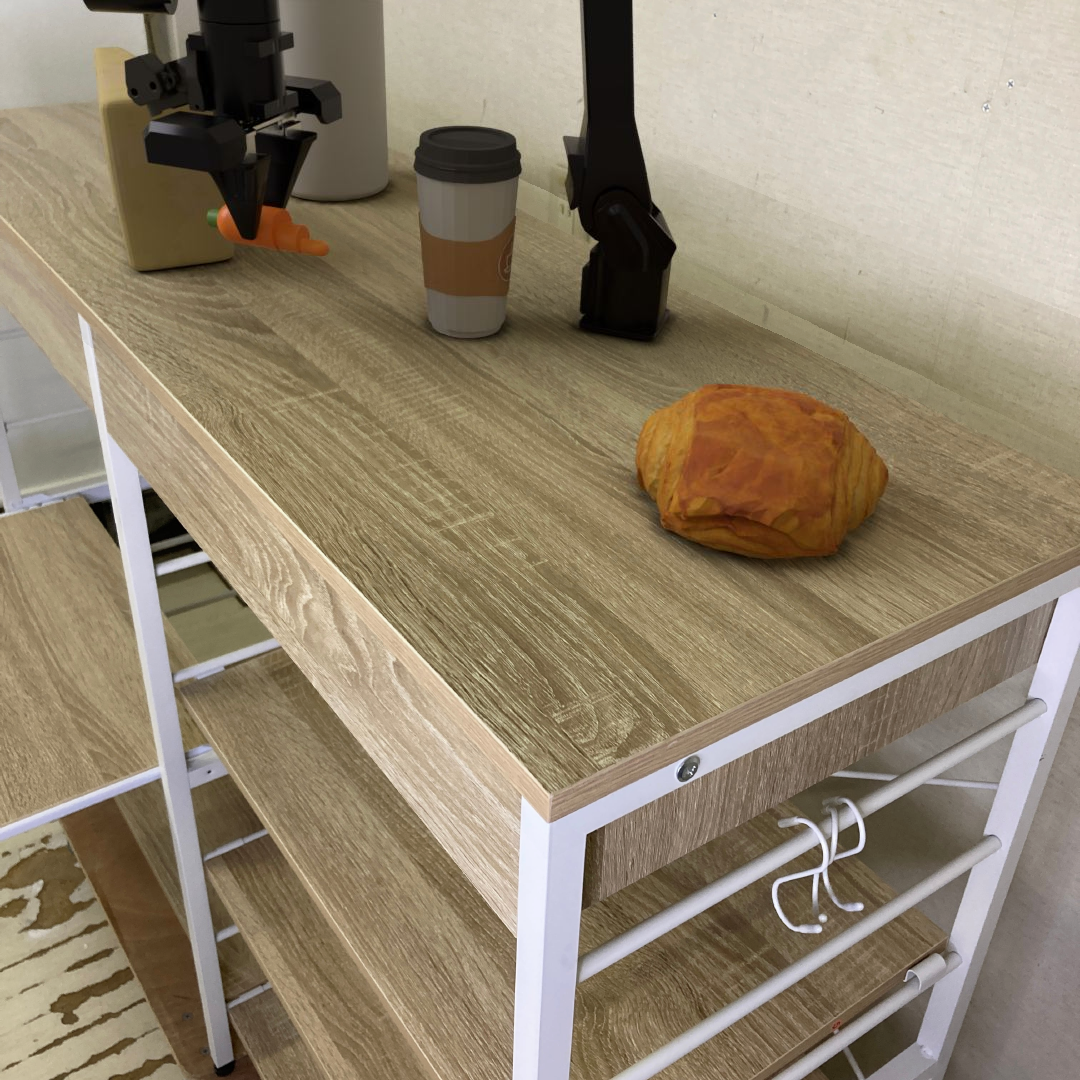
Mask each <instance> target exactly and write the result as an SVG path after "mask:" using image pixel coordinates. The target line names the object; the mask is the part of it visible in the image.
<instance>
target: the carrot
mask: <svg viewBox="0 0 1080 1080" xmlns="http://www.w3.org/2000/svg"><path fill="white" fill-rule="evenodd" d="M207 222H208V225H209V226H211V227H215V228H218V229H219V231H220V232H221V234H222V235H223V236H224V237H225V238H226V239H228V240H229V241H231V242H234V244H240V245H246V246H253V247H258V248H264V249H269V250H275V251H284V252H290V253H295V254H303V255H309V256H313V257H314V256H315V257H320V258H322V257H323V258H324V257H326V256H327V255H329V252H330V246H329V244H328V243H327V242H326V241H324V240H318V239H314V238H313V239H312V238H310V231H309V228H308V227H307V226H306V225H305V224H301V223H295V222H293V221H292V216H291V214H290V212H289V211H288V210H287V208H286V209H282V208H276V207H270V206H264V205H263V206H262V212H261V218H260V223H259V228H258V232H257V236H256V239H254V240H246V239H243V238H242V237H241V236H240V234H239V231H238V229H237V227H236V225H235V223H234V221H233V219H232V216H231V214H230V212H229V210H228V208H227V206H226V204H225V205H224V206H223V207H222V208H221V209H220V210H216V209H211V210H209V212H208V214H207Z"/></svg>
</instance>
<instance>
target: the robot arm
mask: <svg viewBox="0 0 1080 1080" xmlns="http://www.w3.org/2000/svg"><path fill="white" fill-rule="evenodd" d="M195 1H196V8H197V9H196V10H197V17H198V25H199V27H198V28H199V31H194V32H191V33H188V34H187V38H186V39H185V50H186V56H182V57H179V58H177V59H174V60H171V61H167V62H163V61H162V60H161V59H160V58H159V57H158V55H156V53H154V52H148V53H144V54H141V55H136V56H137V57H134V58H131V59H128V60H125V61H124V65H125V82H126V86H127V93H128V96H129V97H130V98H131V99H132V100H133V102H134V103H135V104H137V105H138V106H144V105H146V106H147V108H148V111H149V113H150V115H151V117H154V116H157V115H160V114H162V111H163V110H166V109H169V108H172V109H176V108H179V107H182V106H185V105H188V104H189V108H190V110H192V111H199V112H205V111H212V112H213V116H212V115H205V114H198V113H191V112H184V111H178V112H175V113H172V114H169V115H166V116H163V117H161V118H158V119H155V120H152V121H151V122H150V123H149V124H148V125H147V127H146V128H145V129H144V131H143V132H142V137H143V144H144V151H145V157H146V161H147V162H148V163H153V164H159V165H165V166H172V167H178V168H184V169H190V170H197V171H203V172H208V173H209V174H210V176H211V177H212V179H213V180H214V182H215V184H216V186H217V187H218V189H219V191H220V193H221V195H222V197H223V199H224V201H225V204H226V206H227V208H228V210H229V212H230V214H231V216H232V219H233V221H234V223H235V225H236V227H237V229H238V231H239V234H240V236H241V237H242V238H243V239H246V240H254V239H256V236H257V232H258V228H259V223H260V218H261V212H262V206H263V205H264V206H270V207H276V208H282V209H286V210H287V207H288V204H289V200H290V198H291V196H292V195H291V193H292V190H293V188H294V185H295V183H296V180H297V178H298V175H299V173H300V171H301V168H302V166H303V164H304V161H305V159H306V157H307V154H308V152H309V150H310V148H311V145H312V143H313V142H314V141H315V140H317V133H316V132H312V131H306V130H302V128H301V121H297V115H298V114H300V113H305V114H312V115H315V116H316V117H317V119H318V120H319V122H320V123H321V124H330V123H332V122H334V121H336V120H339V119H341V118H342V101H341V93H340V92H339V91H338V90H337V88H336V87H335V86H334V85H333V84H332V82H331V81H327V80H320V79H312V78H304V77H297V76H289V75H285V69H284V56H283V51H284V50H287V49H290V48H294V37H293V32H284V31H281V19H280V6H279V0H195ZM82 2H83V3H84V5H85V8H87V9H88V10H89V11H90V12H92V13H93V12H96V13H118V14H140V15H162V16H164V15H165V16H174V15H175V14H176V12H177V8H178V4H179V0H82ZM633 8H634V6H633V0H579V16H580V17H579V19H580V20H579V21H580V39H581V40H580V42H581V64H582V65H581V67H582V87H583V88H582V89H583V114H582V121H581V126H580V131H579V135H578V136H575V135H574V136H572V135H563V136H562V141H563V146H564V151H565V155H566V160H567V174H566V177H565V180H564V183H563V184H564V190H565V194H566V198H567V204H568V208H569V210H570V211H574V210H576V209H577V213H578V217H579V222H580V225H581V227H582V230H583V231H584V232H585V233H586V234H587V235H588V236H589V237H590V238H592V239H593V240H595V241H597V243H596V244H595V245H594V246H593V247H591V249H590V250H589V259H588V261H587V262H586V263H585V264H584V265H583V266H582V268H581V281H580V293H579V313H580V315H582V317H581V318H580V319H579V320H578V325H577V327H578V328H579V329H581V330H585V331H592V332H597V333H603V334H606V335H607V334H608V335H612V336H613V335H614V336H619V337H625V338H629V339H636V340H640V341H647V342H652V341H654V340H655V339H656V337H657V336H658V334H659V333H660V331H661V330H662V329H663V327H664V325H665V324H666V323H667V320H668V319H669V318H670V316H671V309H669V308H668V307H667V306H668V305H667V304H668V296H669V286H670V279H671V278H670V276H671V270H672V262H673V261H672V260H673V257H674V255H675V253H676V251H677V248H678V247H677V244H676V241H675V239H674V236H673V234H672V232H671V230H670V228H669V224H668V222H667V221H666V218H665V216H664V214H663V212H662V210H661V209H660V207H658V206H657V204H656V203H655V202H654V201H653V198H652V194H651V193H652V192H651V188H650V182H649V177H648V172H647V166H646V162H645V157H644V153H643V149H642V143H641V139H640V134H639V131H638V130H639V129H638V126H637V120H636V116H635V115H636V113H635V61H634V60H635V59H634V58H635V57H634V11H633V10H634V9H633ZM240 121H242V123H240Z"/></svg>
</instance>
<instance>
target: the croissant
mask: <svg viewBox="0 0 1080 1080" xmlns="http://www.w3.org/2000/svg"><path fill="white" fill-rule="evenodd" d="M635 452H636V453H635V459H634V463H635V467H636V481H637V484H638V486H639V488H640V489H641V490H642V491H644V492H647V493H648V495H649V496H650V497H651V499H652V500H653V501H654V502H655V503H656V506H657V508H658V512H659V515H660V518H659V519H660V525H661V526H662V527H663V528H664V529H665V530H667V531H671V532H673V533H675V534H677V535H679V536H681V537H683V538H685V539H686V540H690V541H691V542H693V543H699V544H700V545H702V546H705V547H708V548H713V549H714V550H718V551H722V552H728V553H729V552H730V553H733V554H737V555H741V556H745V557H747V558H757V559H762V560H763V559H764V560H771V559H772V560H773V559H795V558H797V557H798V558H799V557H800V558H801V557H826V556H831V555H833V554H837V553H838V550H839V549H840V548H841V545H842V543H843V541H844V540H845V537H846V535H847V534H846V533H849V532H852V531H853V530H855V529H857V528H858V527H859V526H860V525H861V524H862V522H865V521H866V519H867V518H869V517H870V516H872V515H873V514H874V512H875V510H876V509H875V508H876V507H877V505H878V503H879V500H880V499H881V498H882V497H883V496H884V494H885V491H886V488H887V486H888V483H889V479H890V478H889V477H890V474H889V469H888V466H887V465H886V464H885V462H884V459H883V458H882V457H881V456H880V455H879V454H878V453H877V449H876V448H875V447H874V446H873V445H872V444H871V443H870V441H869V439H868V438H867V436H866V435H865V434H864V433H861V432H860V430H859V429H858V428H857V425H855V424H854V422H853V421H851V420H850V417H849V416H848V415H847V414H846V412H845V411H842V410H840V409H837V408H835V407H831V406H829V405H828V404H826V403H824V402H822V401H820V400H818V399H816V398H814V397H812V396H809V395H807V394H806V393H801V392H798V391H793V390H789V389H782V388H768V387H763V386H758V385H757V386H756V385H751V384H733V383H710V384H704V385H702V387H701V388H699V389H697V390H694V391H691V392H689V393H687V394H685V395H684V396H683V397H682V398H680V399H679V400H677V401H674V402H672V404H671V405H670V406H664V407H661V408H659V410H658V411H657V412H654V413H651V414H650V415H649V417H648V418H647V419H646V420H645V421H644V423H643V424H642V427H641V430H640V433H639V436H638V439H637V443H636V451H635Z"/></svg>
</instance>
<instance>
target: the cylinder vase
mask: <svg viewBox="0 0 1080 1080" xmlns="http://www.w3.org/2000/svg"><path fill="white" fill-rule="evenodd" d="M279 6H280V19H281V31H284V32H293V37H294V48H290V49H287V50H284V51H283V56H284V69H285V75H289V76H297V77H304V78H312V79H320V80H327V81H331V82H332V84H333V85H334V86H335V87H336V88H337V90H338V91H339V92H340V93H341V101H342V118H341V119H339V120H336V121H334V122H332V123H330V124H321V123H320V122H319V120H318V119H317V117H316V116H315V115H312V114H305V113H300V114H298V115H297V121H301V128H302V130H306V131H312V132H316V133H317V140H315V141H314V142H313V143H312V145H311V148H310V150H309V152H308V154H307V157H306V159H305V161H304V164H303V166H302V168H301V171H300V173H299V175H298V178H297V180H296V183H295V185H294V188H293V190H292V193H291V196H292V197H296V198H299V199H305V200H310V201H319V202H321V201H323V202H325V201H326V202H341V201H352V200H359V199H364V198H367V197H371V196H374V195H376V194H378V193H380V192H381V191H383V190H384V189H385V188H386V187H387V185H388V183H389V176H390V175H389V147H388V143H389V142H388V121H387V120H388V115H387V87H386V86H387V83H386V82H387V81H386V80H387V79H386V56H385V26H384V25H385V23H384V21H385V20H384V19H385V18H384V0H279Z"/></svg>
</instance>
